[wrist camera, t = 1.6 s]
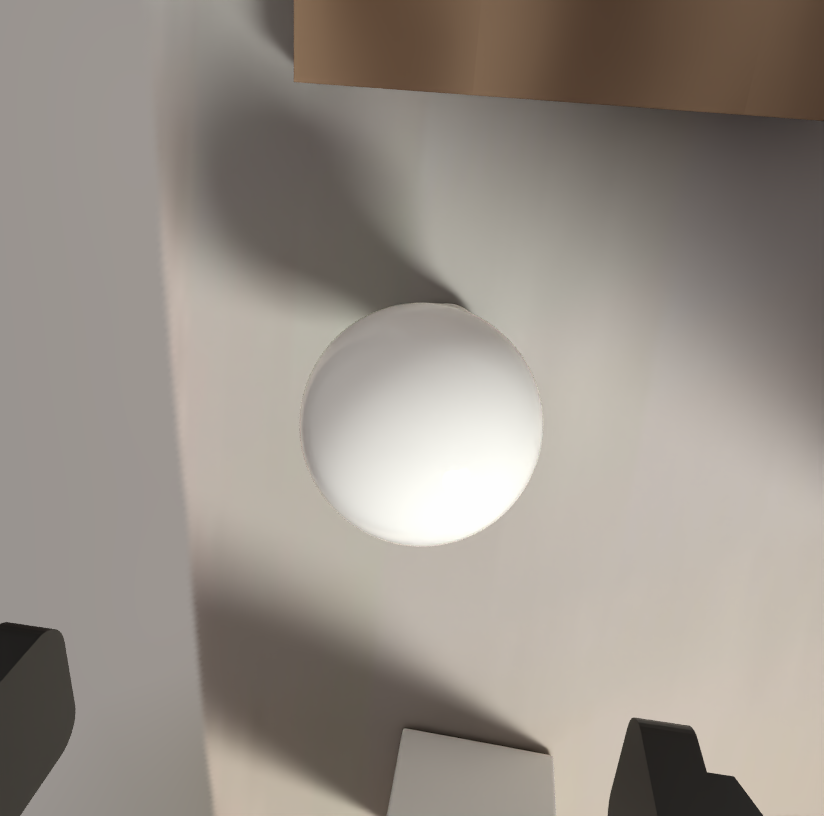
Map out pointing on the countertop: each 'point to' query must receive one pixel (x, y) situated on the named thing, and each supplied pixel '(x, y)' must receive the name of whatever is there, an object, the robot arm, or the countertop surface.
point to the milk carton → (469, 779)
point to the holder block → (575, 51)
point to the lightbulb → (421, 424)
